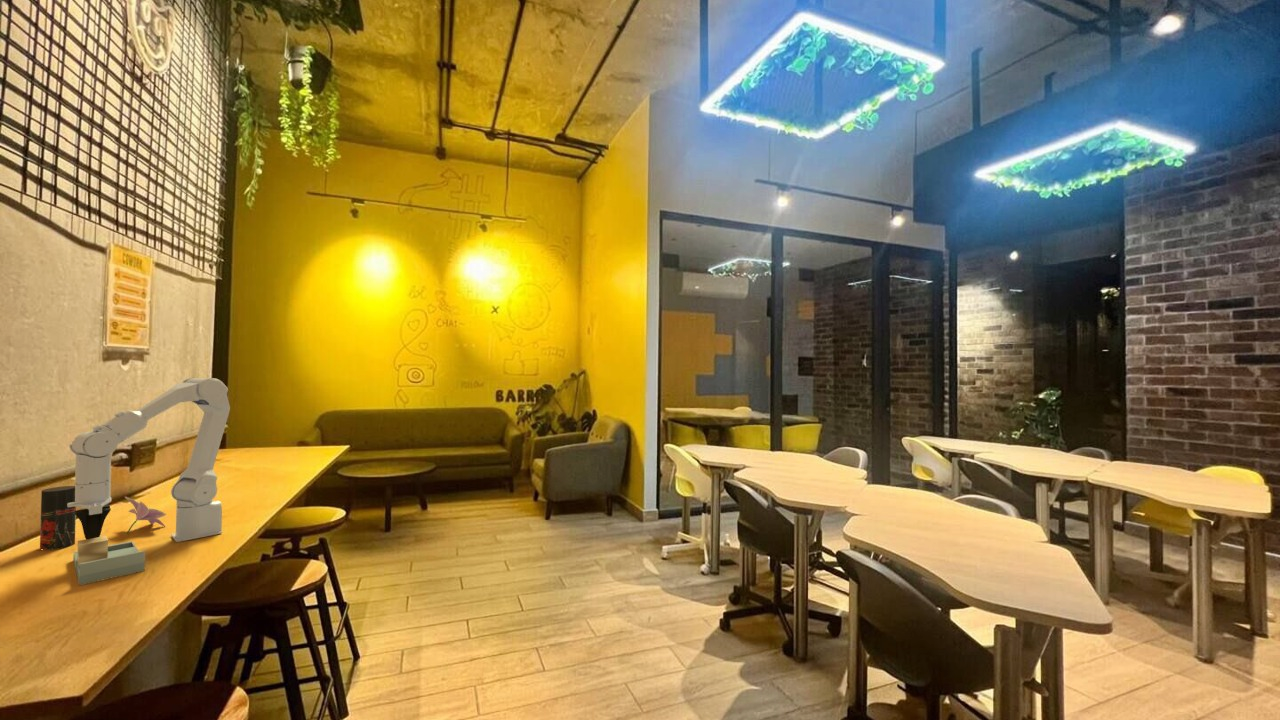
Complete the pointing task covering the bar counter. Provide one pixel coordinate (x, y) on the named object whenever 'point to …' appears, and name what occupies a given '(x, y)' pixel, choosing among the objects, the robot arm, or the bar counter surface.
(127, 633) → the bar counter surface
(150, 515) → the lily
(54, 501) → the deodorant
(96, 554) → the beech block
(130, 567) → the board
